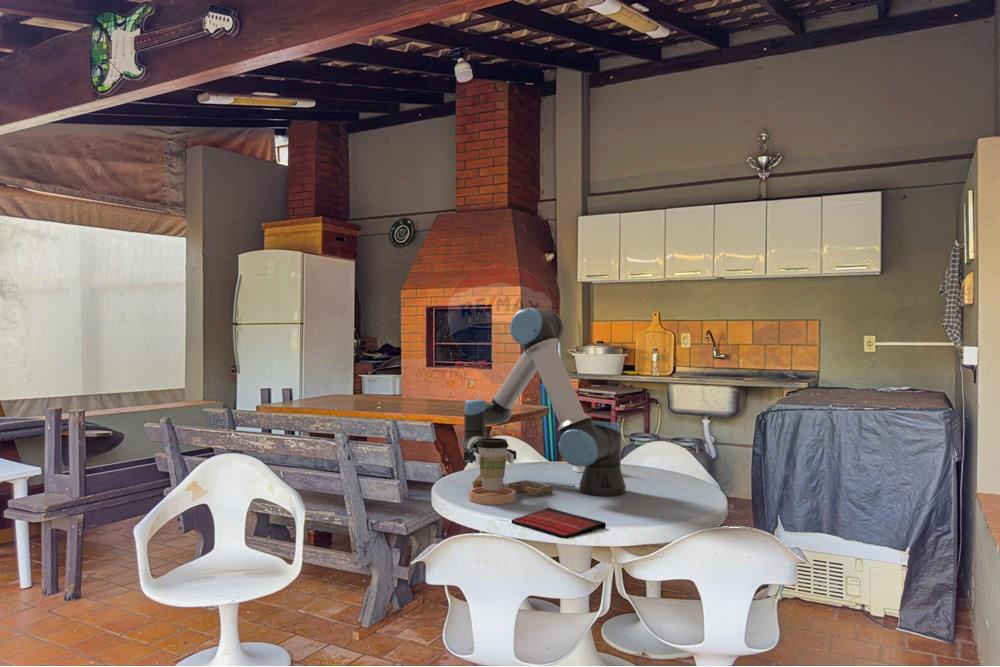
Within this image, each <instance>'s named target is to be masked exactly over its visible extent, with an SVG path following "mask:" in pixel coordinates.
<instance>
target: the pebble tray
mask: <svg viewBox="0 0 1000 667" xmlns="http://www.w3.org/2000/svg"><path fill="white" fill-rule="evenodd" d="M508 488H510V489H513V490H515V491H516V493H517V492H520V493H519V494H521V493H524V494H523V495H526V494H529V495H528V496H530V495H533V496H532V497H534V496H536V497H538V496H537V495H540V496H543V495H542V494H545V495H548V494H547V493H550V494H552V493H553V486H552V485H550V484H545V483H540V482H536V481H530V480H527V479H525V480H518V481H512V482H508Z"/></svg>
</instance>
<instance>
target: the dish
mask: <svg viewBox="0 0 1000 667" xmlns="http://www.w3.org/2000/svg"><path fill="white" fill-rule="evenodd" d="M467 494H468V497H467V499H468V500H469V501H470V502H471V503H474V504H479V505H488V506H489V505H490V506H498V505H497V504H499V505H507V504H506V503H508V504H511V502H512V503H514V502H515V501H516V500H517V492H516V491H515V490H513V489H510V488H509V487H505V486H504V487H502V489H500V490H485V489H482V487H478V488H473V487H472V488H470V489H469V490H468V493H467Z"/></svg>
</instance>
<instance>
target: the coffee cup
mask: <svg viewBox="0 0 1000 667" xmlns="http://www.w3.org/2000/svg"><path fill="white" fill-rule="evenodd" d="M477 447H478V449H479V455H480V465H479V471H480V474H481V480H482V489H485V490H500V489H502V485H503V484H504V477H505V472H506V465H507V461H506V457H507V455H506V452H507V449H508V448H509V443H508V441H507V439H505V438H502V437H501V438H500V437H499V438H498V437H486V438H483V439H479V443H478V444H477ZM480 474H479V475H480Z"/></svg>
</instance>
